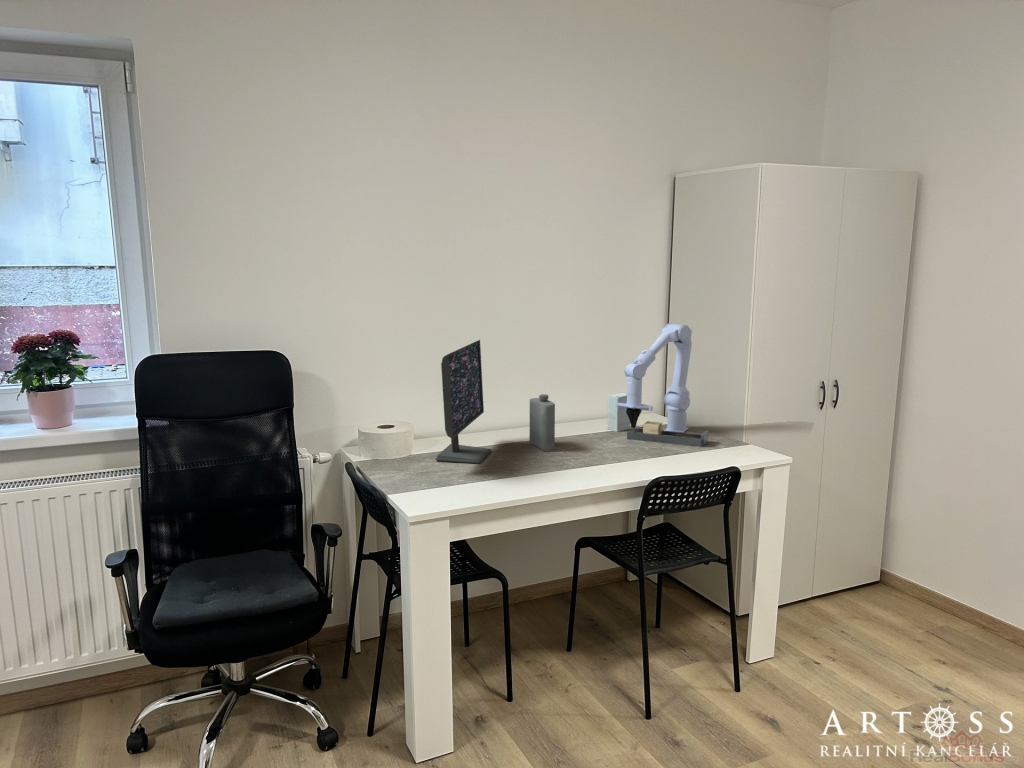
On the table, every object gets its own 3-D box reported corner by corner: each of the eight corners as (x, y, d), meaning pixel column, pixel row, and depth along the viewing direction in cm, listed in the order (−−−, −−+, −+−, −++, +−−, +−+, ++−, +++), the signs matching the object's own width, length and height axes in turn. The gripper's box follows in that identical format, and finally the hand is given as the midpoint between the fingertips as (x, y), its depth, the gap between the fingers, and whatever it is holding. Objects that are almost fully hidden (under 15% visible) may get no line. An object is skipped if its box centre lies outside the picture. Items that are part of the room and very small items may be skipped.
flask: (558, 450, 285) (559, 397, 281) (544, 452, 282) (545, 398, 279) (541, 441, 298) (541, 391, 295) (527, 443, 296) (527, 392, 292)
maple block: (647, 433, 306) (647, 421, 305) (661, 435, 303) (662, 422, 303) (642, 436, 301) (643, 424, 300) (657, 438, 298) (658, 425, 297)
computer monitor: (470, 474, 254) (469, 354, 247) (424, 471, 257) (421, 353, 250) (499, 443, 296) (499, 339, 289) (458, 441, 299) (457, 339, 292)
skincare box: (620, 426, 323) (621, 392, 321) (630, 429, 319) (631, 394, 316) (606, 429, 318) (607, 394, 316) (617, 432, 313) (617, 396, 311)
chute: (633, 434, 310) (633, 423, 309) (708, 441, 297) (708, 430, 296) (626, 438, 302) (627, 427, 301) (703, 447, 289) (704, 435, 289)
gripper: (613, 393, 302) (612, 427, 304) (649, 396, 296) (648, 431, 298) (619, 391, 308) (618, 423, 311) (654, 393, 302) (653, 427, 304)
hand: (633, 427), depth 305 cm, fingers closed
